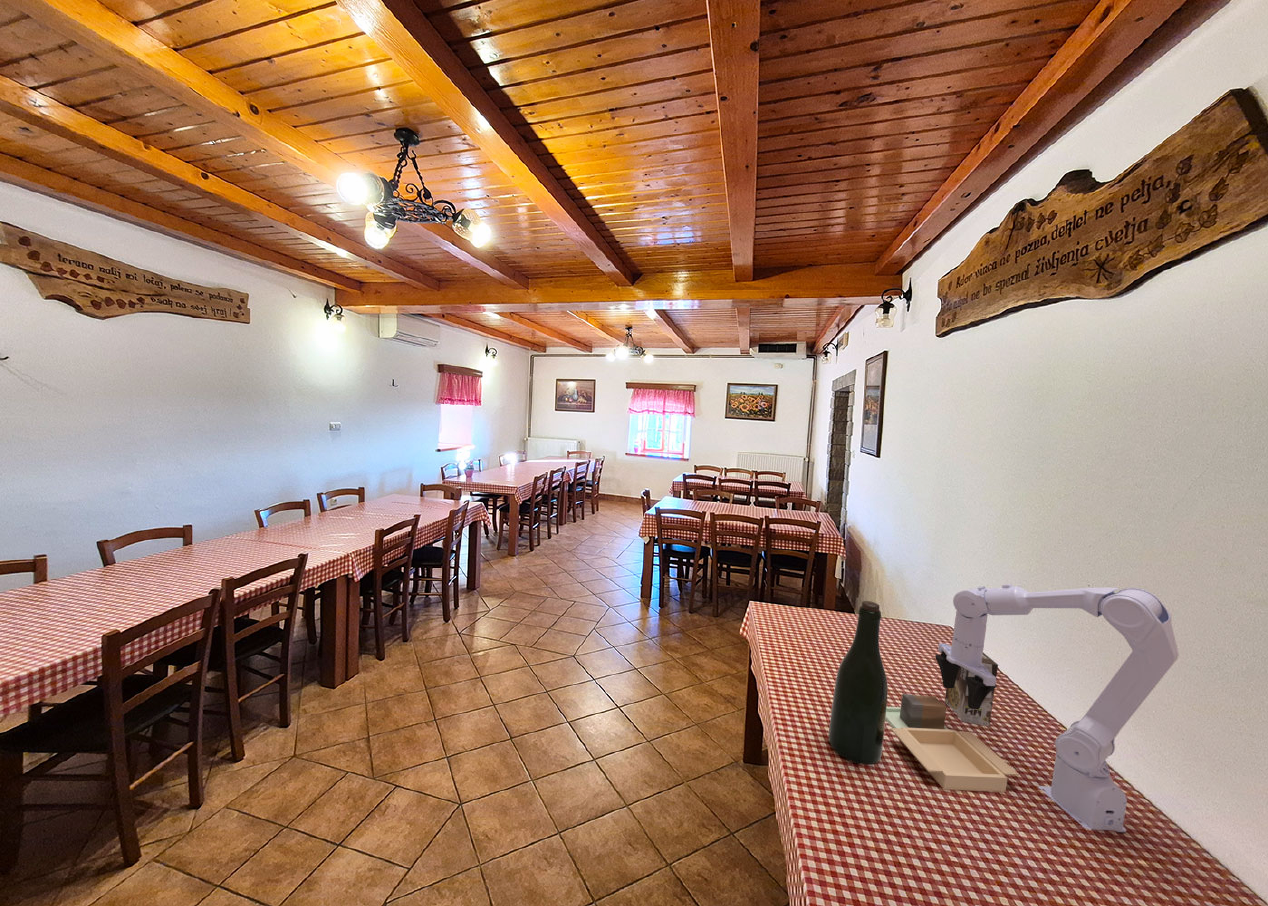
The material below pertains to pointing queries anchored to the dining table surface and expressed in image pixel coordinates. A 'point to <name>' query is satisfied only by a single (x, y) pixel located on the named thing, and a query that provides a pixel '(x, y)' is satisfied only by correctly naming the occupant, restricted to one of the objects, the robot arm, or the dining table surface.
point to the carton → (956, 759)
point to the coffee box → (959, 696)
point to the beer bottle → (861, 694)
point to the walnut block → (922, 712)
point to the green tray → (896, 718)
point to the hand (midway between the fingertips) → (960, 697)
